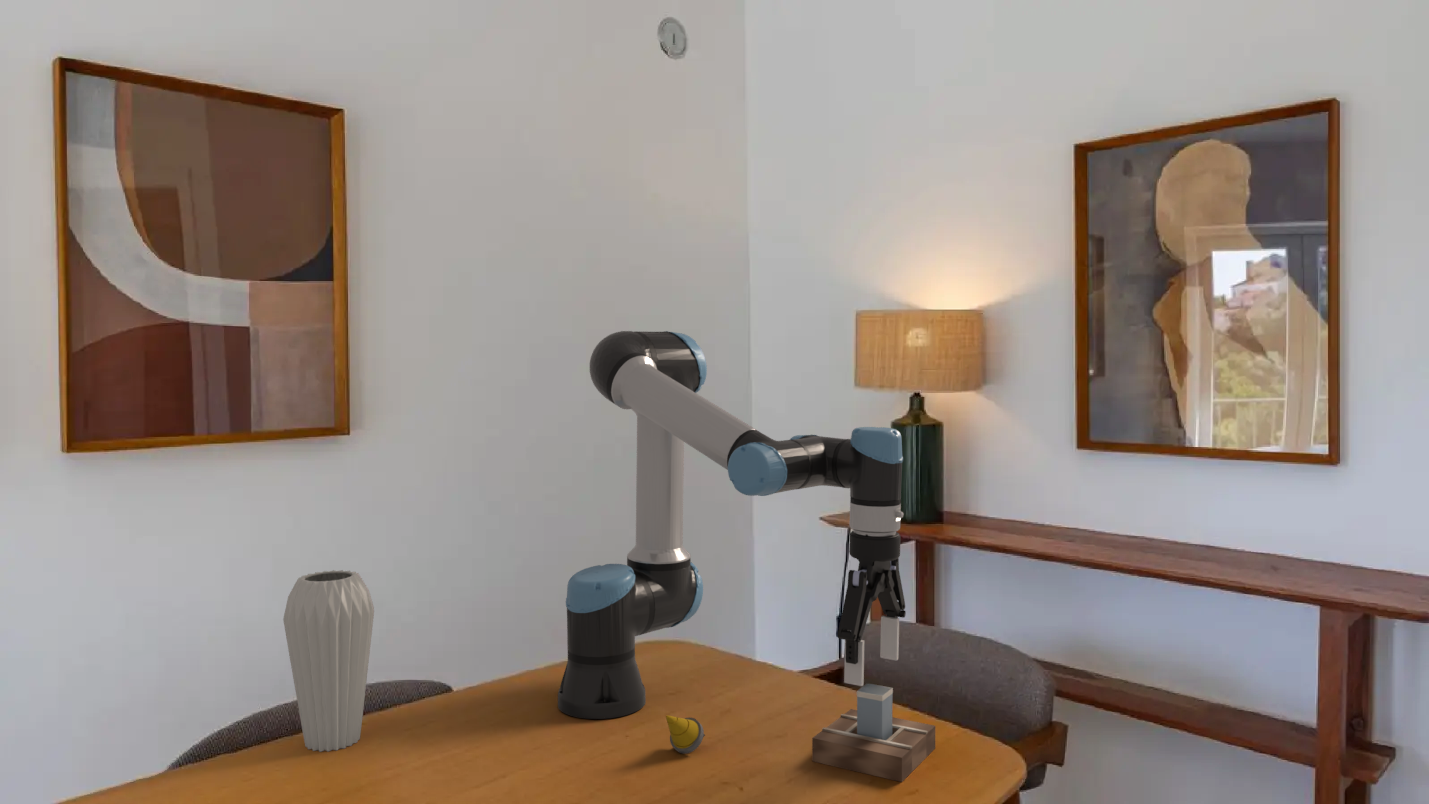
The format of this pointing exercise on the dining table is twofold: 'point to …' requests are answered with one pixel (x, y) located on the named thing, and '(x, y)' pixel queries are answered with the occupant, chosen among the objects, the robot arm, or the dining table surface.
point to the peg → (874, 711)
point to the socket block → (874, 747)
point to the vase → (329, 655)
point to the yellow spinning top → (685, 733)
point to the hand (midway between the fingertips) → (872, 671)
